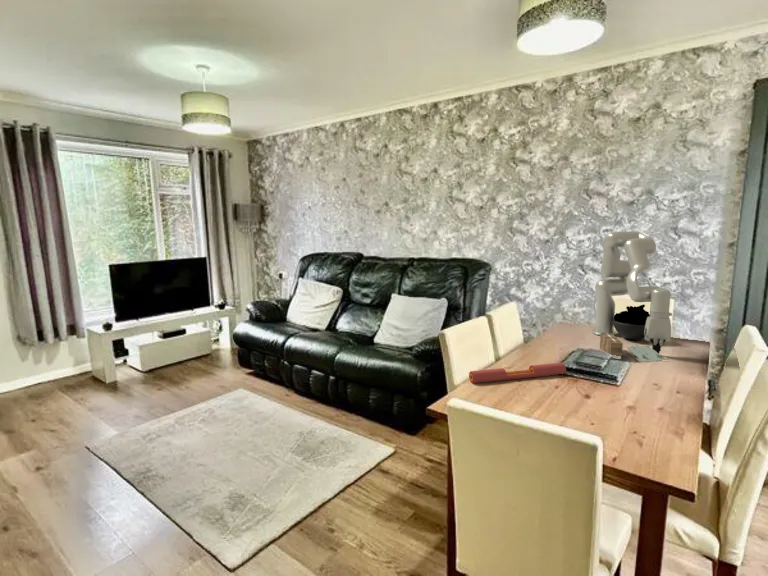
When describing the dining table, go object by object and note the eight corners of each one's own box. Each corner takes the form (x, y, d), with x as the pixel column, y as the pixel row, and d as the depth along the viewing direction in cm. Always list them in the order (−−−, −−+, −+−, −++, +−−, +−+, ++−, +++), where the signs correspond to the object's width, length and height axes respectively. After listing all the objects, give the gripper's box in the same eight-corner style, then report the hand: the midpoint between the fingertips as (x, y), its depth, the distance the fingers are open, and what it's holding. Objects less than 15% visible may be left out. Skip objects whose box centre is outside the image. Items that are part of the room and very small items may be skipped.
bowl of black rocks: (623, 344, 219) (625, 309, 217) (605, 334, 239) (607, 302, 236) (662, 344, 219) (665, 308, 216) (640, 334, 238) (643, 301, 236)
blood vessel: (473, 385, 170) (473, 373, 169) (468, 381, 175) (468, 369, 174) (566, 376, 178) (566, 364, 177) (558, 372, 183) (559, 361, 182)
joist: (599, 348, 214) (600, 332, 213) (610, 348, 213) (611, 333, 212) (609, 359, 197) (611, 342, 196) (621, 359, 196) (622, 342, 194)
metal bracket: (622, 343, 202) (651, 341, 204) (619, 353, 205) (647, 351, 207) (642, 360, 190) (672, 358, 191) (639, 371, 192) (669, 369, 194)
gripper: (673, 313, 199) (670, 351, 202) (638, 313, 203) (636, 349, 205) (680, 317, 192) (677, 355, 195) (644, 316, 195) (641, 354, 198)
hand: (656, 352), depth 200 cm, fingers closed
